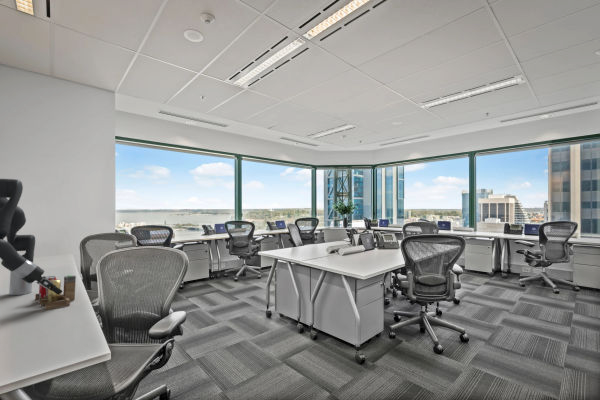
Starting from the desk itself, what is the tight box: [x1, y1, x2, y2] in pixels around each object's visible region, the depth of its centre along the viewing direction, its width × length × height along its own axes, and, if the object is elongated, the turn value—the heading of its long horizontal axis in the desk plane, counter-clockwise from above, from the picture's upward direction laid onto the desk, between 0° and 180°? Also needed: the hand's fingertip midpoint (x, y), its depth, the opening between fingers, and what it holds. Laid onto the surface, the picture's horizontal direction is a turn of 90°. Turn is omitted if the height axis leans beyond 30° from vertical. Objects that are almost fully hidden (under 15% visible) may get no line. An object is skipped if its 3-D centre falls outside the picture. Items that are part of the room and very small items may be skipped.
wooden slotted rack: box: [34, 274, 77, 311], centre depth 149 cm, size 25×13×12 cm, turn 51°
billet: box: [48, 279, 62, 303], centre depth 142 cm, size 5×5×11 cm
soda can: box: [38, 275, 58, 298], centre depth 152 cm, size 7×7×12 cm
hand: (59, 291), depth 144 cm, fingers closed on billet, 4 cm apart
